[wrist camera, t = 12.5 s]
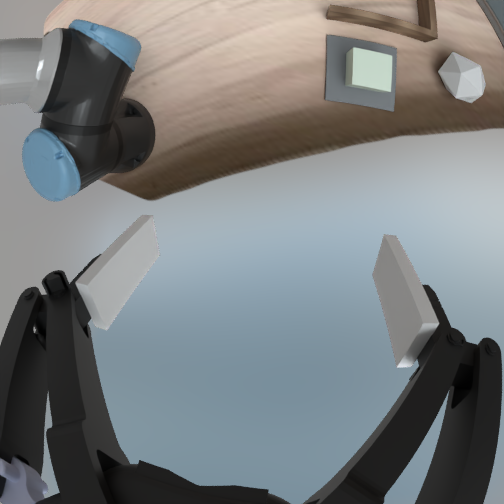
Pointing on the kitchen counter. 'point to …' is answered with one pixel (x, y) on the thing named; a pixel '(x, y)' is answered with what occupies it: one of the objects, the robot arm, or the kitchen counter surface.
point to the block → (368, 70)
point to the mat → (337, 74)
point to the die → (462, 78)
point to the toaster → (495, 15)
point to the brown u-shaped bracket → (392, 20)
